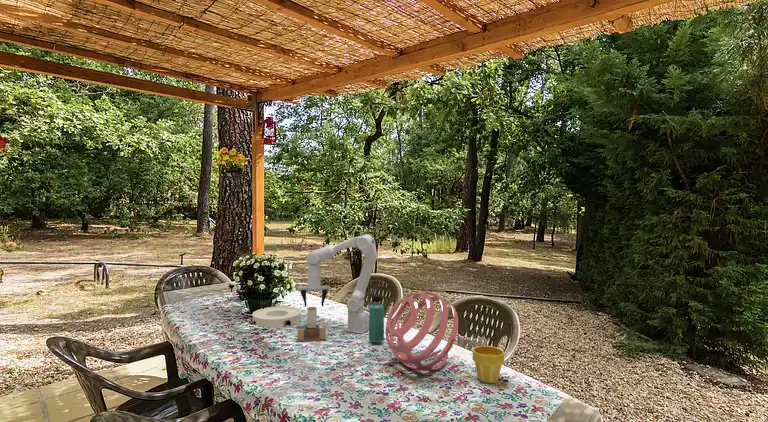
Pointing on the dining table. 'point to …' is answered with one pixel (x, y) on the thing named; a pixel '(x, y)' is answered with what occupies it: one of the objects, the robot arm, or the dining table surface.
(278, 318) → the ashtray
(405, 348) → the spiral basket
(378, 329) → the beverage bottle
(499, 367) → the plant pot
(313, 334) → the stand base
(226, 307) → the dining table surface
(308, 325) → the grayish brown rectangular block
